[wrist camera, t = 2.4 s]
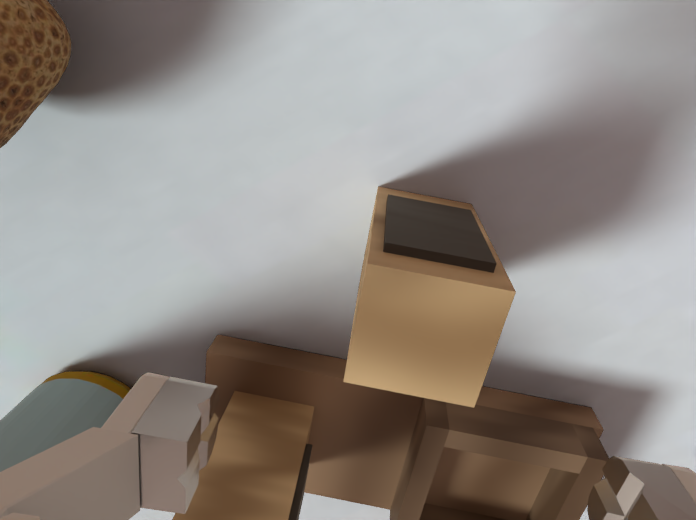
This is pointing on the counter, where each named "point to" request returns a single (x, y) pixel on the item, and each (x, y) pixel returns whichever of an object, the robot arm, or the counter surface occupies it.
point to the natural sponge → (28, 59)
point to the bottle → (57, 413)
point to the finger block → (427, 300)
